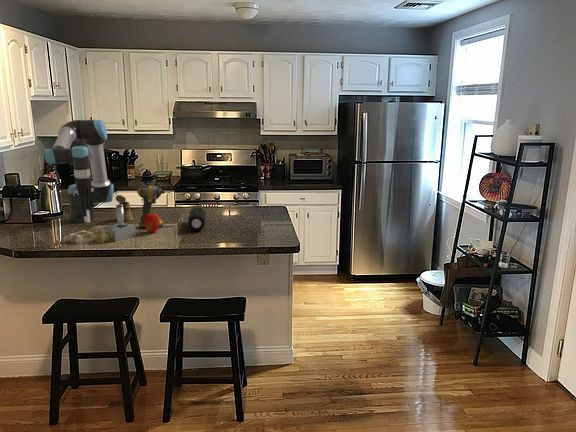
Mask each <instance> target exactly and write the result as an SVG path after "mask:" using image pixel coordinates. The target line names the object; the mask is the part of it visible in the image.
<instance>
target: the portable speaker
mask: <svg viewBox="0 0 576 432" xmlns="http://www.w3.org/2000/svg"><path fill="white" fill-rule="evenodd" d="M206 217H207V214H206V210H205V209H204V208H203V207H200V206H195V207H193V208H192V209H191V210H190V211H189V216H188V221H187V224H188V225H187V226H188V227H189V229H190V230H192V231H194V232H199V231H202V230H203V229H204V228H205V226H206Z"/></svg>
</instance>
